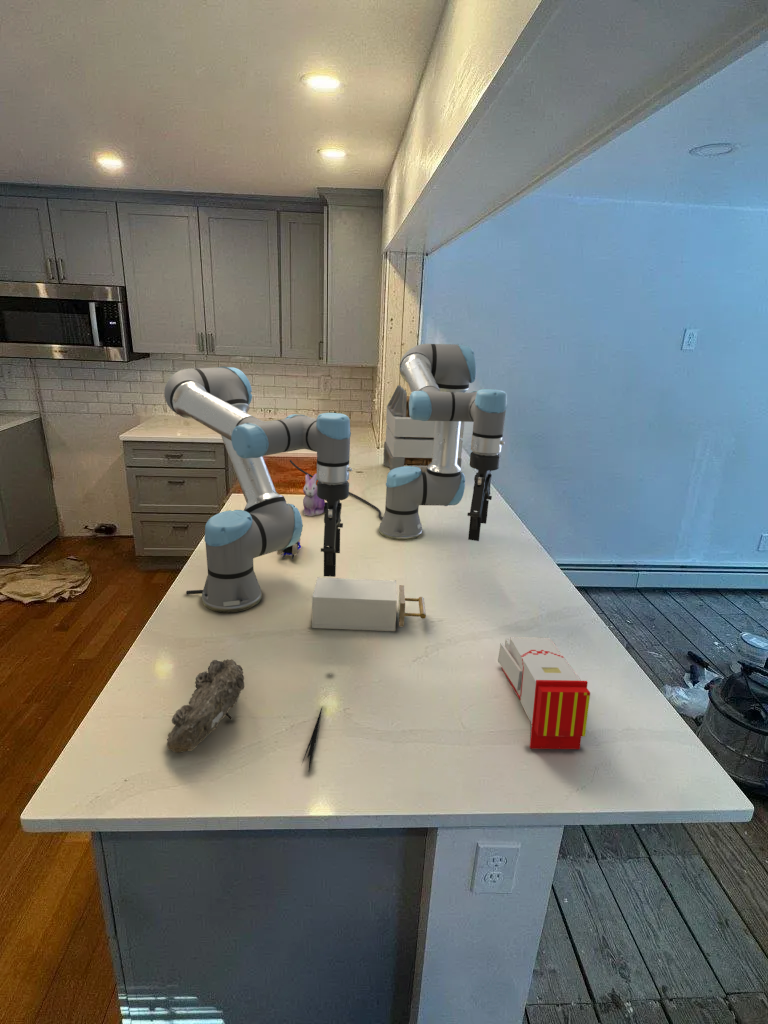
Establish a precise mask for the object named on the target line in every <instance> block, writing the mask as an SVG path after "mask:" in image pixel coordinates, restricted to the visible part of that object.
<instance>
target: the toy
mask: <svg viewBox="0 0 768 1024" xmlns="http://www.w3.org/2000/svg"><path fill="white" fill-rule="evenodd" d="M504 640H505V641H504V642H505V643H502V642H501V643H500V644H499V649H498V650H499V651H498V658H497V662H498V663H499V665H500V668H501V670H502V672H503V674H504V675H505V677H506V679H507V680H508V682H509V684H510V686H511V688H512V689H513V692H514V693H515V694H516V696H517V698H518V700H519V701H520V704H521V706H522V708H523V710H524V712H525V715H526V716H527V718H528V719H529V722H530V724H531V729H530V738H529V739H530V740H529V749H532V750H533V749H534V750H535V749H537V750H538V749H539V750H581V742H582V737H586V732H587V723H588V714H589V706H590V705H589V704H590V699H591V692H590V690H589V689H588V681H587V680H582V679H581V678H580V677H579V675H578V674H577V673H576V671H575V670H574V668H573V667H572V666H571V665H570V663H569V662H568V661H567V659H566V658H565V657H564V655H563V654H562V653H561V651H560V650H559V648H558V646H557V645H556V643H554V642H553V640H552V639H551V638H550V637H521V636H519V637H516V636H515V637H513V636H511V637H509V638H505V639H504Z"/></svg>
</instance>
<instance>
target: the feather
mask: <svg viewBox="0 0 768 1024" xmlns="http://www.w3.org/2000/svg"><path fill="white" fill-rule="evenodd" d="M329 675H330V676H331V675H332V674H331V673H330V674H329ZM322 710H323V707H321V708H320V710H319V713H318V716H317V719H316V723H315V725H314V728H313V731H312V733H311V737H310V739H309V742H308V745H307V748H306V751H305V754H304V757H303V760H302V763H301V767H302V765H303V763H304V761H305V758H308V759H309V760H308V762H307V763H308V764H307V766H308V771H310V770H311V766H312V765H311V764H312V760H313V757H315V756H314V755H315V751H316V749H315V746H317V739H318V733H319V729H320V722H321V717H322V712H323V711H322ZM313 754H314V755H313ZM306 755H307V757H306Z"/></svg>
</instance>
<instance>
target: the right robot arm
mask: <svg viewBox="0 0 768 1024" xmlns="http://www.w3.org/2000/svg"><path fill="white" fill-rule="evenodd" d="M399 373H400V375H401V377H402V379H403V381H405V383H407V385H408V388H409V390H410V392H411V393H410V395H409V396H410V399H409V415H410V417H411V419H413V420H421V421H435V429H434V442H433V455H432V462H431V463H430V464H429V465H428V466H426V471H422V469H421V467H420V466H407V465H404V466H403V467H398V468H394V469H392V470H391V471H390V470H388V473H387V475H386V482H385V487H386V488H385V489H386V490H385V504H384V505H385V507H384V508H385V509H384V513H383V515H382V511H381V510H380V509H379V508H378V506H376V505H374V504H372V503H370V502H369V501H367V500H366V499H364V498H362V497H360V496H358V495H357V494H354V493H352V492H351V491H349V496H352V497H354V498H356V499H357V500H360V501H362V502H363V503H365V504H366V505H368V506H370V507H372V508H373V509H374V510H375V511H377V513H378V518H379V519H380V520H381V522H379V526H378V533H379V534H380V535H381V536H382V537H385V538H387V539H389V540H395V541H410V540H415V539H418V538H420V537H421V536H422V535H423V524H422V522H421V518H420V515H419V507H420V506H442V507H448V506H456V505H458V504H460V503H461V501H462V499H463V496H464V493H465V489H466V476H465V474H464V472H462V467H461V468H460V467H459V466H458V465H457V458H458V447H459V437H460V426H461V422H464V423H465V422H466V423H467V422H468V423H473V425H472V434H471V441H470V450H471V452H470V455H469V467H470V468H471V469H473V470H477V472H476V473H475V475H474V477H473V480H474V482H473V483H474V484H473V491H472V495H471V496H472V497H471V503H470V510H469V512H467V515H466V516H468V517H469V524H468V536H467V540H468V541H475V542H479V541H480V535H481V525H482V524H485V525H486V524H487V521H488V511H489V502H490V501H491V500H492V499H493V495H491V485H492V484H491V483H492V479H493V478H492V477H493V473H492V472H494V471H497V470H499V468H500V467H501V466H500V465H501V457H502V456H501V454H500V453H501V452H502V446H504V445H505V441H504V440H503V436H504V431H505V429H504V428H505V422H506V421H505V420H506V413H507V407H508V404H507V402H508V401H507V400H508V393H507V392H506V391H504V390H499V389H494V388H481V389H479V390H472V391H469V392H467V391H468V390H469V389H470V384H472V383H474V382H475V381H476V377H477V362H476V355H475V351H474V349H473V348H472V347H471V346H470V345H467V344H466V345H465V344H458V343H457V344H456V343H455V344H454V343H452V344H451V343H450V344H449V343H448V344H447V343H421V344H420V343H419V344H417V345H415V346H413V347H411V348H410V349H408V350H407V351H406V352H405V353H404V354H403V355H402V357H401V359H400V362H399ZM289 462H290V464H291V465H292V466H293V467H295V468H296V469H297V470H298V471H300V472H301V473H302V474H304V475H305V476H306V475H307V474H308V475H309V477H310V478H312V477H313V476H314V475H312V474H311V473H308V472H307V471H305V470H303V469H302V468H301V467H299V466H298V465H297V464H296V463H294V461H292V459H289Z"/></svg>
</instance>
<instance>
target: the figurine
mask: <svg viewBox="0 0 768 1024" xmlns="http://www.w3.org/2000/svg"><path fill="white" fill-rule="evenodd" d="M308 474H309V473H308ZM308 474H307V475H306V474H305V479H304V480H305V484H304V486H303V489H302V493H303V494H304V497H303V499H302V506H303V509H302V511H303V516H308V517H313V516H319V515H321V514H323V513H324V506H325V502H326V500H322V499H320V498H319V497H318V496H317V482H318V480H317V473H314V474H313V475H312V476H313V477H310V476H309V475H308Z"/></svg>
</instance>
